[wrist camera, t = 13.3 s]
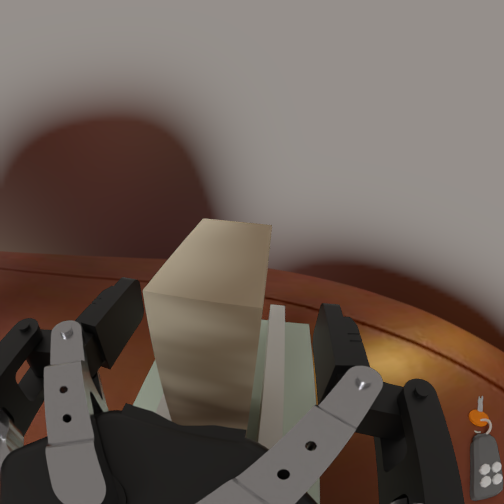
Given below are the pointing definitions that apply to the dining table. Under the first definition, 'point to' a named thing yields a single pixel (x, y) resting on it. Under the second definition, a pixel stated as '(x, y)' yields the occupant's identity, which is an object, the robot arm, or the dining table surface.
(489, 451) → the key chain
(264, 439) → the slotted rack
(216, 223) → the beige tall block
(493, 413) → the dining table surface
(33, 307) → the dining table surface
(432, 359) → the dining table surface
